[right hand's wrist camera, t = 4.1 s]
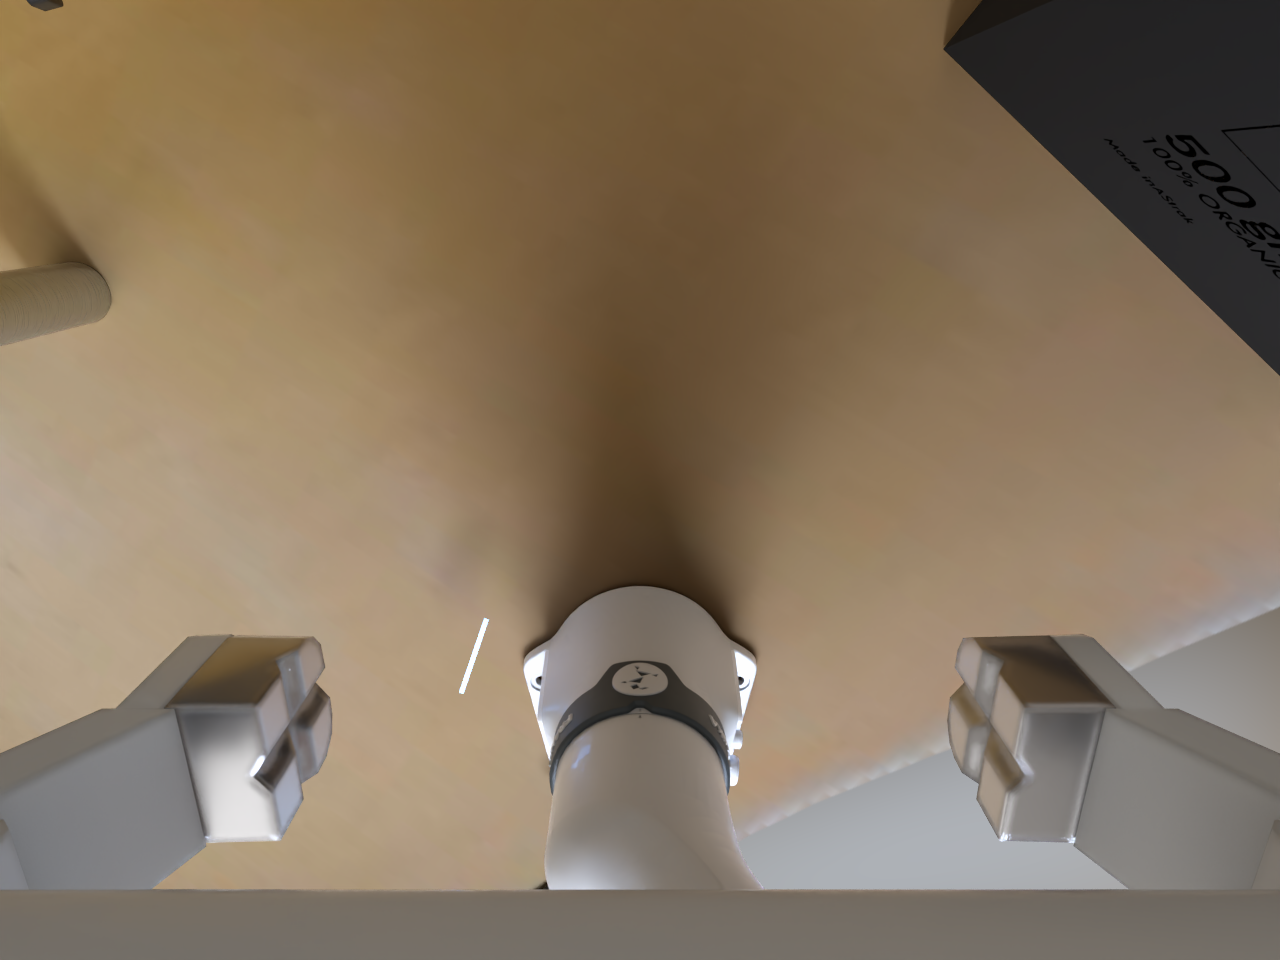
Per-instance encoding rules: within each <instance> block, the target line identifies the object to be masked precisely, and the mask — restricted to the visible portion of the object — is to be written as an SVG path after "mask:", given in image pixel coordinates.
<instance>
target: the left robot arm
mask: <svg viewBox="0 0 1280 960" xmlns="http://www.w3.org/2000/svg"><path fill="white" fill-rule="evenodd" d="M27 2H28V3H29V4H30V5H31V6H33V7H36V8H38V9H41V10H43V11H48V10H52V9H55V8H59V7H63V1H62V0H27Z"/></svg>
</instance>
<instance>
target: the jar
mask: <svg viewBox="0 0 1280 960" xmlns="http://www.w3.org/2000/svg"><path fill="white" fill-rule="evenodd" d="M110 304H111V296H110V291H109V288H108V285H107V284H106V282H105V280H104V279H103V277H102V276H101V275H100V274H99V273H98V272H97V271H96V270H94V269H93V268H91V267H89V266H87V265H85V264H82V263H78V262H66V263H59V264H51V265H44V266H37V267H30V268H22V269H15V270H8V271H0V346H3V345H7V344H11V343H15V342H19V341H23V340H27V339H31V338H35V337H39V336H43V335H47V334H51V333H54V332H58V331H62V330H66V329H70V328H74V327H78V326H82V325H86V324H90V323H94V322H97V321H99V320H101V319H102V318H103V317H104V316H105V315H106V314H107V312H108V310H109V308H110Z"/></svg>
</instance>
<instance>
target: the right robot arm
mask: <svg viewBox="0 0 1280 960" xmlns="http://www.w3.org/2000/svg"><path fill="white" fill-rule="evenodd" d="M487 623H488V619H484V621H483V624H482V627H481V630H480V633H479V636H478V639H477V642H476V645H475V648H474V651H473V654H472V656H471V659H470V662H469V665H468V668H467V671H466V674H465V677H464V680H463V683H462V686H461V689H460V693H464V690H465V687H466V684H467V681H468V678H469V675H470V672H471V670H472V667H473V664H474V661H475V658H476V655H477V652H478V649H479V646H480V643H481V640H482V637H483V634H484V632H485V629H486V626H487ZM324 668H325V664H324V659H323V654H322V649H321V644H320V643H319V642H318V641H317V640H316V639H315V638H314V637H308V636H256V635H236V636H234V635H231V634H229V635H196V636H191V637H187V638H186V639H185V640H184V641H183V642H182V643H181V644H180V645H179V646H178V647H177V648H176V649H175V650H174V651H173V652H172V653H171V654H170V655H169V656H168V657H167V658H166V659H165V660H164V661H163V662H162V663H161V664H160V665H159V666H158V667H157V668H156V669H155V670H154V671H153V672H152V673H151V674H150V675H149V676H148V677H147V678H146V679H145V680H144V681H143V682H142V683H141V684H140V685H139V686H138V687H137V688H136V689H135V690H134V691H133V692H132V693H131V694H130V695H129V696H128V697H127V698H126V699H125V700H124V701H123V702H122V703H121V704H120V705H119V706H118V707H117V708H116V709H100V710H98V711H96V712H94V713H91V714H89V715H87V716H84V717H82V718H80V719H78V720H75V721H73V722H71V723H69V724H66V725H64V726H62V727H59V728H57V729H55V730H53V731H50V732H48V733H46V734H43V735H41V736H39V737H37V738H34V739H32V740H30V741H28V742H25V743H23V744H21V745H18V746H16V747H14V748H12V749H9V750H7V751H5V752H3V753H0V960H1280V754H1279V753H1277V752H1275V751H1273V750H1270V749H1268V748H1266V747H1263V746H1261V745H1259V744H1257V743H1255V742H1252V741H1250V740H1248V739H1245V738H1243V737H1241V736H1239V735H1236V734H1234V733H1232V732H1230V731H1227V730H1225V729H1223V728H1220V727H1218V726H1216V725H1214V724H1211V723H1209V722H1207V721H1204V720H1202V719H1200V718H1198V717H1195V716H1193V715H1191V714H1189V713H1186V712H1184V711H1182V710H1180V709H1165V708H1164V707H1163V706H1161V705H1160V704H1159V703H1158V702H1157V701H1156V700H1155V699H1154V698H1153V697H1152V696H1151V695H1150V694H1149V693H1148V692H1147V691H1146V690H1145V689H1144V688H1143V687H1142V686H1141V685H1140V684H1139V683H1138V682H1137V681H1136V680H1135V679H1134V678H1133V677H1132V676H1131V675H1130V674H1129V673H1128V672H1127V671H1126V670H1125V669H1124V668H1123V667H1122V666H1121V665H1120V664H1119V663H1118V662H1117V661H1116V660H1115V659H1114V658H1113V657H1112V656H1111V655H1110V654H1109V653H1108V652H1107V651H1106V650H1105V649H1104V648H1103V647H1102V646H1101V645H1100V644H1099V643H1098V642H1097V641H1096V640H1095V639H1094V638H1092V637H1089V636H1086V635H1084V634H1075V635H1049V636H1009V637H971V638H963V640H962V642H961V644H960V646H959V648H958V652H957V658H956V664H955V668H956V670H957V671H958V673H959V674H960V676H961V678H962V679H963V681H964V684H963V685H962V686H961V687H960V688H959V689H958V690H957V691H956V692H955V693H954V694H953V695H952V696H951V697H950V703H949V712H948V720H947V721H948V731H949V742H950V745H951V749H952V752H953V755H954V758H955V760H956V762H957V764H958V766H959V768H960V770H961V772H962V773H963V774H965V775H966V776H968V777H969V778H971V779H972V780H974V781H975V782H977V783H978V784H979V787H978V792H977V801H978V803H979V804H980V806H981V808H982V810H983V812H984V814H985V815H986V817H987V819H988V821H989V823H990V824H991V826H992V828H993V830H994V831H995V833H996V835H997V837H998V839H999V840H1000V841H1034V842H1070V843H1074V847H1076V848H1077V849H1078V850H1079V851H1081V852H1082V853H1083V854H1085V855H1086V856H1087V857H1088V858H1090V859H1091V860H1092V861H1094V862H1095V863H1096V864H1097V865H1099V866H1100V867H1101V868H1102V869H1104V870H1105V871H1106V872H1108V873H1109V874H1110V875H1111V876H1113V877H1114V878H1115V879H1117V880H1118V881H1119V882H1120V883H1122V884H1123V885H1124V886H1126V887H1127V888H1128V890H1127V889H1122V890H1121V889H1120V890H1119V889H1113V890H1112V889H1105V890H1103V889H1100V890H1099V889H1094V890H1093V889H1087V890H1086V889H1085V890H1084V889H1083V890H1081V889H1079V890H1077V889H1076V890H1075V889H1073V890H1072V889H1068V890H1066V889H1064V890H1063V889H1060V890H1059V889H1050V890H1048V889H1044V890H1038V889H1037V890H1036V889H1033V890H1032V889H1029V890H1028V889H1026V890H1025V889H1022V890H1018V889H1016V890H1014V889H1013V890H1012V889H1011V890H1006V889H1005V890H1003V889H1001V890H998V889H996V890H995V889H994V890H993V889H992V890H987V889H985V890H984V889H981V890H980V889H978V890H974V889H971V890H765V889H764V887H763V886H762V885H761V884H760V883H759V881H758V880H757V879H756V877H755V876H754V874H753V873H752V871H751V870H750V868H749V867H748V865H747V863H746V862H745V859H744V858H743V856H742V853H741V851H740V847H739V844H738V841H737V837H736V833H735V829H734V826H733V821H732V817H731V812H730V807H729V802H728V797H727V796H728V793H729V787H730V786H733V785H736V783H737V781H738V775H739V758H738V757H737V756H736V755H733V751H734V749H740V748H741V746H742V740H743V733H742V731H741V730H740V727H741V724H742V720H743V717H744V713H745V710H746V706H747V703H748V699H749V696H750V692H751V689H752V685H753V682H754V679H755V675H756V670H757V667H756V659H755V657H754V655H753V654H752V653H751V652H749V651H748V650H747V649H745V648H744V647H742V646H740V645H739V644H737V643H735V642H733V641H732V640H730V639H729V638H728V637H727V636H726V635H725V634H724V633H723V632H722V630H721V629H720V627H719V626H718V625H717V623H716V622H715V620H714V619H713V618H712V617H711V616H710V615H709V614H708V613H707V612H706V611H705V610H704V609H703V608H702V607H701V606H699V605H698V604H697V603H695V602H694V601H692V600H691V599H689V598H687V597H685V596H683V595H681V594H679V593H676V592H673V591H670V590H667V589H663V588H657V587H650V586H630V587H623V588H617V589H613V590H610V591H607V592H604V593H601V594H599V595H597V596H595V597H593V598H591V599H589V600H588V601H586V602H585V603H583V604H582V605H581V606H579V607H578V608H577V609H576V610H575V611H574V612H573V613H572V614H571V615H570V616H569V617H568V618H567V619H566V620H565V622H564V623H563V625H562V626H561V627H560V629H559V630H558V632H557V633H556V634H555V635H554V636H553V637H552V638H551V639H550V640H548V641H547V642H545V643H543V644H541V645H540V646H538V647H536V648H535V649H533V650H532V651H531V652H529V653H528V654H527V655H526V657H525V659H524V668H523V670H524V675H525V678H526V682H527V685H528V689H529V692H530V696H531V699H532V703H533V706H534V710H535V713H536V717H537V720H538V724H539V727H540V730H541V734H542V737H543V741H544V744H545V748H546V751H547V755H548V758H549V767H550V787H551V793H552V796H553V798H552V805H551V812H550V819H549V827H548V834H547V841H546V848H545V855H544V867H545V875H546V880H547V884H548V886H547V887H546V888H544V889H543V890H377V889H376V890H375V889H152V888H153V887H155V886H156V885H157V884H159V883H160V882H161V881H162V880H164V879H165V878H166V877H168V876H169V875H170V874H171V873H173V872H174V871H175V870H177V869H178V868H179V867H180V866H182V865H183V864H184V863H185V862H187V861H188V860H189V859H191V858H192V857H193V856H194V855H196V854H197V853H198V852H200V851H201V850H202V849H203V848H205V847H206V843H210V842H245V841H280V840H281V839H282V837H283V835H284V833H285V832H286V830H287V828H288V826H289V824H290V823H291V821H292V819H293V817H294V815H295V814H296V812H297V810H298V808H299V806H300V805H301V803H302V801H303V799H304V798H303V792H302V786H301V784H302V783H303V782H305V781H306V780H308V779H309V778H311V777H312V776H314V775H315V774H317V773H318V772H319V770H320V768H321V766H322V764H323V762H324V760H325V758H326V756H327V752H328V748H329V743H330V739H331V735H332V709H331V702H330V697H329V696H328V695H327V694H326V693H325V692H324V691H323V690H322V689H321V688H320V687H319V686H318V685H317V684H316V681H317V679H318V678H319V676H320V674H321V673H322V671H323V670H324ZM539 676H542V680H540V679H538V678H537V677H539ZM738 676H741V677H743V678H742V679H740V680H738Z"/></svg>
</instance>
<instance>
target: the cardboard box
mask: <svg viewBox="0 0 1280 960" xmlns="http://www.w3.org/2000/svg"><path fill="white" fill-rule="evenodd" d="M944 50H945V51H946V52H947V53H948V54H949V55H950V56H951V57H952V58H953V59H954V60H955V61H956V62H957V63H958V64H959V65H960V66H961V67H962V68H963V69H964V70H965V71H966V72H967V73H968V74H970V75H971V76H972V77H973V78H974V79H975V80H976V81H977V82H978V83H979V84H980V85H981V86H982V87H983V88H984V89H985V90H986V91H987V92H988V93H989V94H990V95H991V96H992V97H993V98H994V99H995V100H996V101H997V102H998V103H999V104H1000V105H1001V106H1002V107H1004V108H1005V109H1006V110H1007V111H1008V112H1009V113H1010V114H1011V115H1012V116H1013V117H1014V118H1015V119H1016V120H1017V121H1018V122H1019V123H1020V124H1021V125H1022V126H1023V127H1024V128H1025V129H1026V130H1027V131H1028V132H1029V133H1030V134H1031V135H1032V136H1033V137H1034V138H1035V139H1036V140H1038V141H1039V142H1040V143H1041V144H1042V145H1043V146H1044V147H1045V148H1046V149H1047V150H1048V151H1049V152H1050V153H1051V154H1052V155H1053V156H1054V157H1055V158H1056V159H1057V160H1058V161H1059V162H1060V163H1061V164H1062V165H1063V166H1064V167H1065V168H1066V169H1067V170H1068V171H1069V172H1070V173H1072V174H1073V175H1074V176H1075V177H1076V178H1077V179H1078V180H1079V181H1080V182H1081V183H1082V184H1083V185H1084V186H1085V187H1086V188H1087V189H1088V190H1089V191H1090V192H1091V193H1092V194H1093V195H1094V196H1095V197H1096V198H1097V199H1098V200H1099V201H1100V202H1101V203H1102V204H1103V205H1104V206H1106V207H1107V208H1108V209H1109V210H1110V211H1111V212H1112V213H1113V214H1114V215H1115V216H1116V217H1117V218H1118V219H1119V220H1120V221H1121V222H1122V223H1123V224H1124V225H1125V226H1126V227H1127V228H1128V229H1129V230H1130V231H1131V232H1132V233H1133V234H1134V235H1135V236H1136V237H1137V238H1138V239H1140V240H1141V241H1142V242H1143V243H1144V244H1145V245H1146V246H1147V247H1148V248H1149V249H1150V250H1151V251H1152V252H1153V253H1154V254H1155V255H1156V256H1157V257H1158V258H1159V259H1160V260H1161V261H1162V262H1163V263H1164V264H1165V265H1166V266H1167V267H1168V268H1169V269H1170V270H1171V271H1172V272H1174V273H1175V274H1176V275H1177V276H1178V277H1179V278H1180V279H1181V280H1182V281H1183V282H1184V283H1185V284H1186V285H1187V286H1188V287H1189V288H1190V289H1191V290H1192V291H1193V292H1194V293H1195V294H1196V295H1197V296H1198V297H1199V298H1200V299H1201V300H1202V301H1203V302H1204V303H1205V304H1206V305H1208V306H1209V307H1210V308H1211V309H1212V310H1213V311H1214V312H1215V313H1216V314H1217V315H1218V316H1219V317H1220V318H1221V319H1222V320H1223V321H1224V322H1225V323H1226V324H1227V325H1228V326H1229V327H1230V328H1231V329H1232V330H1233V331H1234V332H1235V333H1236V334H1237V335H1238V336H1239V337H1240V338H1242V339H1243V340H1244V341H1245V342H1246V343H1247V344H1248V345H1249V346H1250V347H1251V348H1252V349H1253V350H1254V351H1255V352H1256V353H1257V354H1258V355H1259V356H1260V357H1261V358H1262V359H1263V360H1264V361H1265V362H1266V363H1267V364H1268V365H1269V366H1270V367H1271V368H1272V369H1273V370H1274V371H1276V372H1277V373H1278V374H1279V375H1280V0H983V1H982V2H981V3H980V4H979V5H978V7H977V8H976V9H975V10H974V12H973V13H972V14H971V15H970V17H969V18H968V19H967V20H966V22H965V23H964V24H963V25H962V27H961V28H960V29H959V30H958V31H957V33H956V34H955V35H954V36H953V38H952V39H951V40H950V41H949V43H948V44H947V45H946V46H945V48H944ZM1269 125H1272V126H1271V127H1270V128H1267V127H1268V126H1269ZM1242 151H1243V152H1244V153H1245V155H1246V156H1247V157H1246V156H1245V155H1244V154H1243V153H1242ZM1193 153H1195V157H1192V156H1193ZM1197 160H1202V161H1203V162H1204V164H1203V166H1201V162H1199V163H1198V164H1197V166H1200V167H1199V168H1198V169H1196V168H1195V166H1193V165H1194V164H1195V162H1196V161H1197ZM1193 161H1194V162H1193ZM1192 162H1193V163H1192ZM1204 165H1205V166H1204ZM1201 173H1203V174H1201ZM1204 175H1206V177H1204ZM1209 176H1210V177H1211V178H1210V179H1211V180H1214V182H1213V181H1210V180H1208V177H1209ZM1223 178H1224V179H1225V181H1224V182H1223V183H1221V182H1220V183H1218V182H1217V181H1219V180H1222V179H1223ZM1219 186H1222V187H1221V190H1222V189H1223V188H1224V187H1226V186H1227V187H1229V189H1230V191H1228V190H1227V189H1225V190H1224V191H1223V192H1222V193H1220V192H1221V190H1220V191H1218V189H1219ZM1235 189H1237V191H1234V190H1235ZM1224 196H1225V197H1224ZM1226 198H1227V199H1228V200H1227V199H1226ZM1248 201H1249V203H1248V204H1247V205H1246V206H1247V207H1248V208H1242V206H1243V205H1244V204H1245V203H1246V202H1248ZM1235 202H1238V203H1240V202H1242V205H1241V206H1240V207H1238V205H1237V204H1236V203H1235ZM1233 203H1235V205H1236V206H1235V205H1233ZM1251 221H1253V223H1252V224H1250V222H1251ZM1261 222H1264V224H1263V226H1262V228H1260V225H1259V226H1256V227H1254V225H1255V223H1257V224H1259V223H1261ZM1258 229H1259V231H1257V230H1258Z"/></svg>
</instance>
